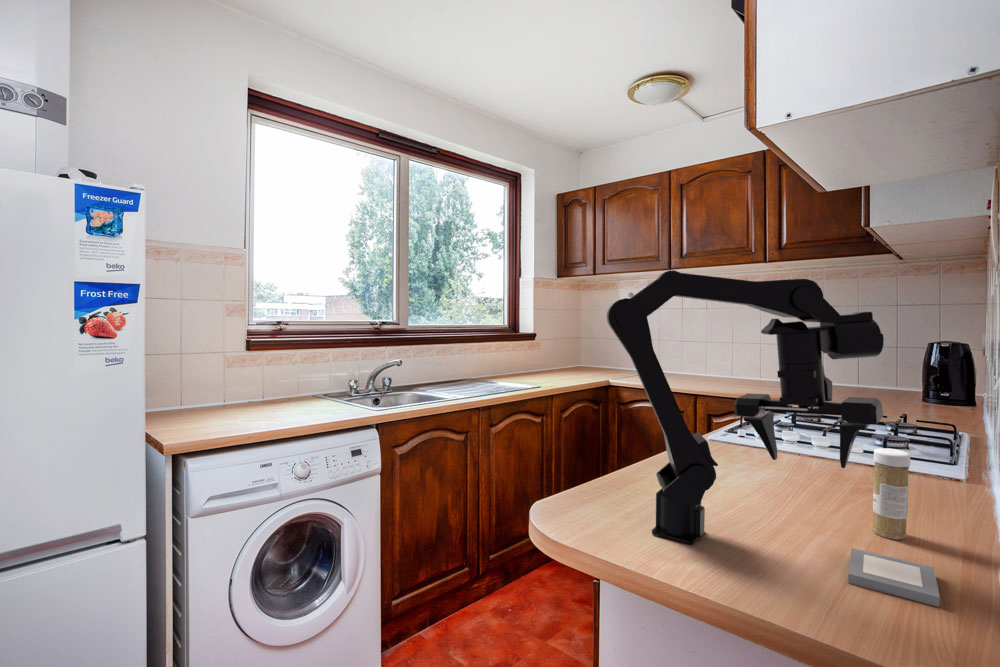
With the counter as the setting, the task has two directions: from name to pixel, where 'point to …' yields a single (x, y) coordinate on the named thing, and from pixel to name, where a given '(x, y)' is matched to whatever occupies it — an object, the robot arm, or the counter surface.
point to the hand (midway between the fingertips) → (807, 463)
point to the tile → (894, 576)
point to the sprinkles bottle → (890, 493)
